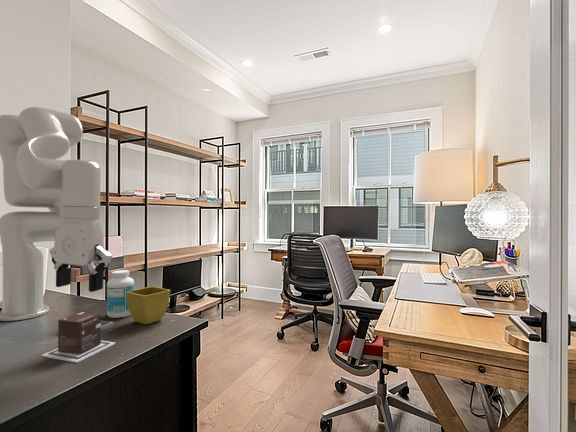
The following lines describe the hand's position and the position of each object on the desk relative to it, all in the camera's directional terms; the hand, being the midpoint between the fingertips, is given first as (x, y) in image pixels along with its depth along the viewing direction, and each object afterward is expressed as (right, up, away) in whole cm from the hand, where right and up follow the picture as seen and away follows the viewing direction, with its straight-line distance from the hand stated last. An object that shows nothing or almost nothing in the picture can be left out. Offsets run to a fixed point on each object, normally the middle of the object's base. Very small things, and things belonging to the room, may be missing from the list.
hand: (79, 287), depth 72 cm
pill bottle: (-3, -14, +24) cm, 28 cm away
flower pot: (+8, -14, +19) cm, 25 cm away
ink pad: (-6, -14, +12) cm, 19 cm away
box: (0, -14, 0) cm, 14 cm away
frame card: (0, -14, 0) cm, 14 cm away
